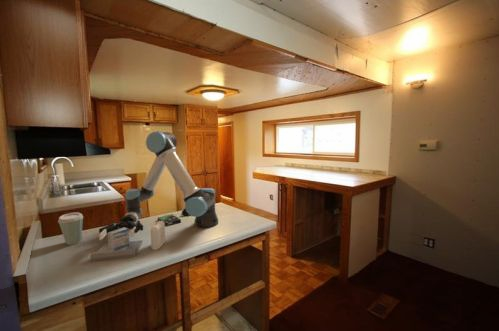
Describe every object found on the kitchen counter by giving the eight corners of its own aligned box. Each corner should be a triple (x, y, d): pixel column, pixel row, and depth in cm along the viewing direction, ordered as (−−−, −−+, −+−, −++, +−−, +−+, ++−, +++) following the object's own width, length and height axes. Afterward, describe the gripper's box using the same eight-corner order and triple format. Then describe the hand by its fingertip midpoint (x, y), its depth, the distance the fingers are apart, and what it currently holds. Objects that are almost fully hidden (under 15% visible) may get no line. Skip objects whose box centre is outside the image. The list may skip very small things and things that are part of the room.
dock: (142, 242, 120) (142, 236, 120) (134, 256, 105) (134, 249, 105) (104, 246, 116) (104, 240, 116) (91, 261, 101) (90, 254, 101)
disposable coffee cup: (88, 241, 121) (86, 214, 120) (63, 249, 113) (60, 220, 111) (81, 236, 128) (79, 210, 126) (57, 243, 119) (54, 215, 118)
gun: (185, 222, 166) (178, 211, 162) (203, 208, 174) (197, 198, 170) (187, 223, 163) (180, 212, 160) (204, 209, 171) (198, 199, 168)
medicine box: (113, 251, 107) (112, 234, 106) (108, 249, 109) (107, 232, 108) (129, 245, 114) (128, 228, 113) (124, 243, 116) (123, 226, 115)
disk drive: (181, 223, 150) (171, 217, 160) (181, 219, 149) (171, 213, 160) (165, 227, 143) (157, 221, 153) (165, 223, 142) (156, 217, 153)
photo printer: (158, 241, 122) (157, 218, 120) (166, 241, 122) (165, 218, 120) (150, 250, 111) (148, 225, 110) (158, 250, 111) (157, 225, 110)
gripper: (153, 225, 131) (144, 240, 111) (105, 229, 126) (87, 246, 105) (152, 212, 131) (144, 225, 110) (104, 215, 125) (85, 230, 104)
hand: (116, 235), depth 108 cm, fingers open, 13 cm apart
